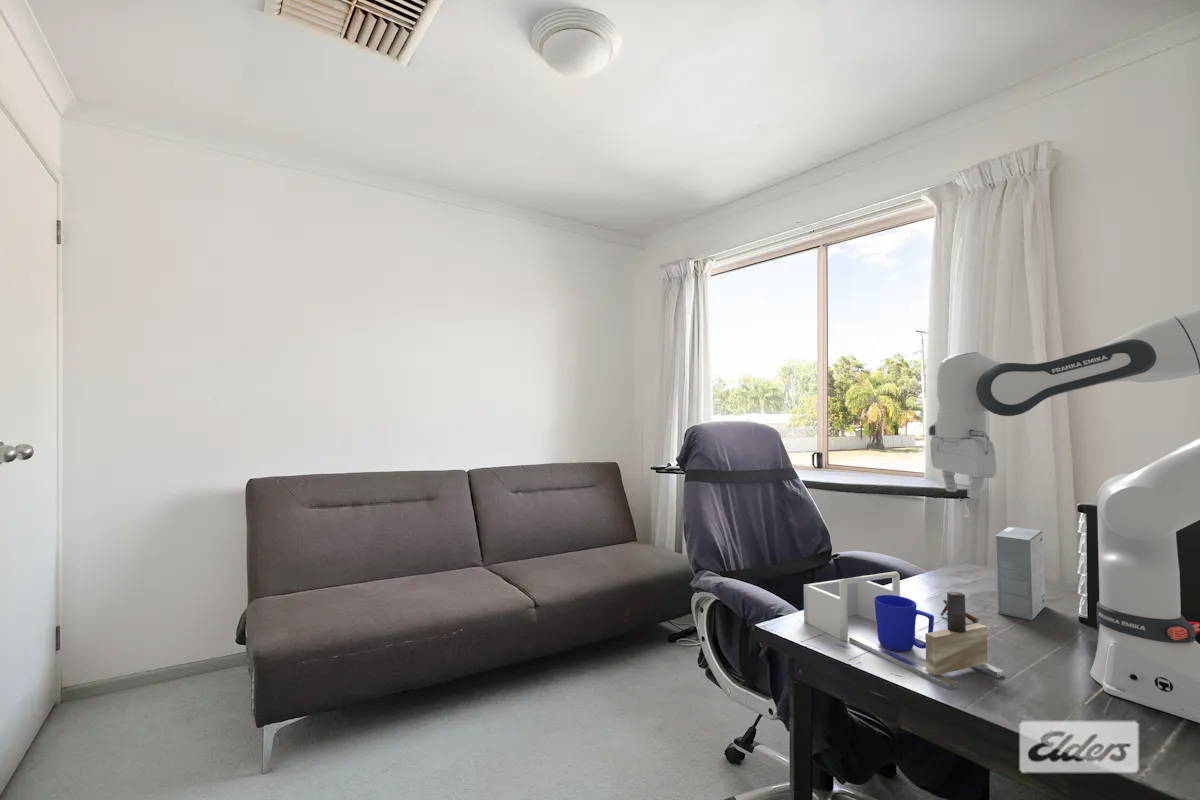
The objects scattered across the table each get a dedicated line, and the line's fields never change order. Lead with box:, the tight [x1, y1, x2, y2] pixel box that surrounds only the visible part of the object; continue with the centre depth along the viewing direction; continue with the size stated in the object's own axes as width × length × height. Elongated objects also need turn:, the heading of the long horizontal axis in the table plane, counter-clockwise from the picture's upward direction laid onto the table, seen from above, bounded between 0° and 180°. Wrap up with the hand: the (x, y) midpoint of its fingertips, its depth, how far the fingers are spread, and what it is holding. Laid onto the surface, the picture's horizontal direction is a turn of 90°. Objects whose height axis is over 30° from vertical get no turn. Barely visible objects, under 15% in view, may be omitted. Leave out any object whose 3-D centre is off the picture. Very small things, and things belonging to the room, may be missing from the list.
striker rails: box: [848, 633, 1005, 691], centre depth 118 cm, size 24×15×1 cm, turn 21°
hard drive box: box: [994, 526, 1047, 621], centre depth 147 cm, size 16×8×20 cm, turn 132°
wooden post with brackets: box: [939, 599, 981, 624], centre depth 139 cm, size 2×8×4 cm, turn 45°
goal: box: [803, 571, 901, 642], centre depth 136 cm, size 13×18×14 cm
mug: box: [874, 595, 935, 652], centre depth 122 cm, size 8×12×10 cm
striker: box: [924, 591, 989, 676], centre depth 111 cm, size 3×14×14 cm, turn 111°
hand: (962, 494), depth 120 cm, fingers open, 8 cm apart
